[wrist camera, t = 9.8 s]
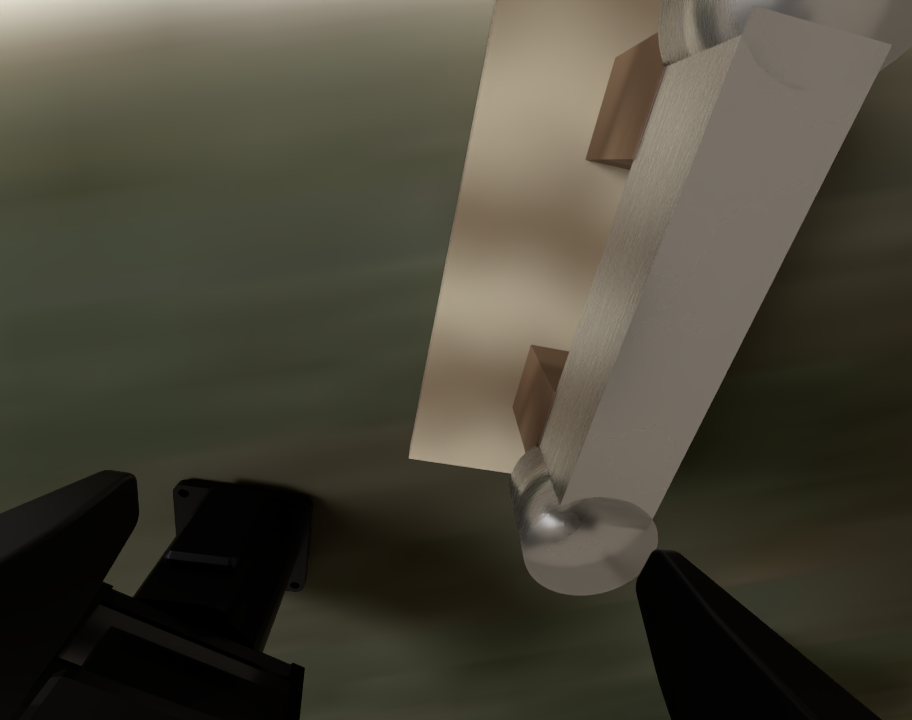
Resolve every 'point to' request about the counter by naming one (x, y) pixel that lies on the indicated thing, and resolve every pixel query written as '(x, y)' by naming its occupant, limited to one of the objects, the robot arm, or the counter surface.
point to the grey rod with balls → (690, 262)
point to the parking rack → (532, 218)
